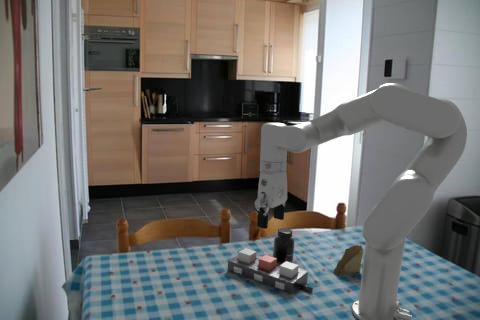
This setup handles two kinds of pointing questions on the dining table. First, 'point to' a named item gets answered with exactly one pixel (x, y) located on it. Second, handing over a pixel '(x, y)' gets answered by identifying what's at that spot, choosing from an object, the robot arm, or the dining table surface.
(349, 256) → the rock
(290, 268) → the button
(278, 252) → the supplement bottle
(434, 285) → the dining table surface
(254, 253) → the button
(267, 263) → the button
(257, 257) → the push button control box
